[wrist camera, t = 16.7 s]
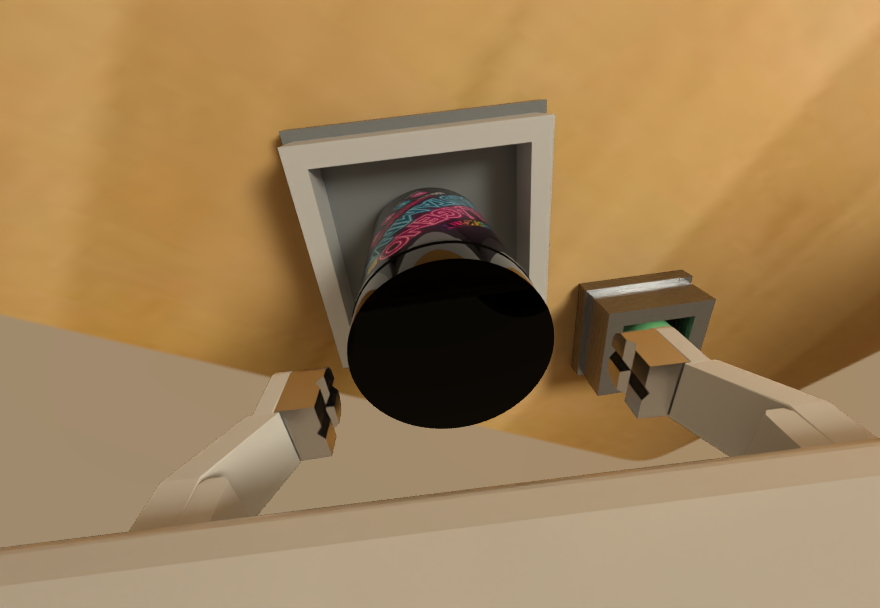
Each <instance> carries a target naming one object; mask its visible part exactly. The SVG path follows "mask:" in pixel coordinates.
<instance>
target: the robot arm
mask: <svg viewBox="0 0 880 608" xmlns="http://www.w3.org/2000/svg"><path fill="white" fill-rule="evenodd" d="M611 345H612V346H613V348H614V349H615V350H616V351H615V352H614V353H613V354H612V355H611V356H610V357H609V363H608V369H609V376H610V378H611V381H612V383H613V384H614V386H615V387H616V389H617V390H619V391H621V392H623V393H625V394H626V397H625V402H626V403H627V405H628V406H629V407H630V409H631V410H632V412H633V413H634V415H635V416H636V417H637V419H639V418H649V417H660V416H669V418H671V419H672V420H674V421H675V422H677V423H678V424H680V425H682V426H683V427H685V428H686V429H688V430H689V431H691V432H692V433H694V434H695V435H697V436H699V437H700V438H702V439H703V440H705V441H706V442H708V443H709V444H711V445H712V446H714V447H716V448H717V449H719V450H720V451H722V452H723V453H725V454H727V455H728V456H729V457H725V458H717V459H709V460H701V461H693V462H685V463H677V464H669V465H661V466H653V467H645V468H637V469H629V470H621V471H613V472H604V473H596V474H588V475H580V476H572V477H564V478H556V479H548V480H540V481H532V482H524V483H516V484H508V485H500V486H492V487H484V488H475V489H467V490H460V491H451V492H444V493H436V494H427V495H420V496H412V497H403V498H395V499H387V500H379V501H372V502H363V503H355V504H347V505H339V506H331V507H323V508H315V509H308V510H300V511H291V512H283V513H275V514H267V515H260V516H257V515H258V514H259V513H260V511H261V510H262V509H263V508H264V507H265V505H266V504H267V503H268V502H269V501H270V499H271V498H272V497H273V496H274V494H275V493H276V492H277V491H278V490H279V488H280V487H281V486H282V485H283V483H284V482H285V481H286V480H287V478H288V477H289V476H290V475H291V474H292V472H293V471H294V470H295V469H296V467H297V466H298V465H299V464H300V461H302V460H309V459H316V458H322V457H329V456H332V454H333V449H334V445H335V440H336V433H335V431H334V428H335V426H337V424H339V421H340V416H341V402H340V396H339V393H338V390H337V389H336V388H334V387H333V386H332V384H333V380H334V377H333V374H332V371H331V369H330V368H328V367H326V368H315V369H305V370H295V371H287V372H278V373H275V374H273V375H272V376H271V378H270V380H269V383H268V384H267V386H266V389H265V391H264V393H263V395H262V397H261V399H260V401H259V403H258V405H257V407H256V409H255V411H254V413H253V415H252V416H246V417H245V418H244V419H242V420H241V421H240V422H238V423H237V424H236V425H235V426H233V427H232V428H231V429H229V430H228V431H227V432H225V433H224V434H223V435H222V436H220V437H219V438H218V439H216V440H215V441H214V442H212V443H211V444H210V445H209V446H207V447H206V448H205V449H203V450H202V451H201V452H199V453H198V454H197V455H196V456H194V457H193V458H192V459H190V460H189V461H188V462H186V463H185V464H184V465H183V466H181V467H180V468H179V469H178V470H176V471H175V472H174V473H172V474H171V475H170V476H168V477H167V478H166V479H165V480H163V481H162V482H161V483H160V484H159V485H158V487H157V488H156V490H155V492H154V493H153V495H152V496H151V498H150V499H149V501H148V502H147V504H146V505H145V507H144V508H143V510H142V512H141V513H140V515H139V516H138V518H137V519H136V521H135V523H134V524H133V526H132V527H131V529H130V530H129V532H124V533H123V532H122V533H114V534H106V535H100V536H99V535H98V536H91V537H82V538H74V539H66V540H59V541H50V542H42V543H35V544H27V545H19V546H10V547H2V548H0V608H880V438H877V437H876V436H874V435H873V434H872V433H871V432H869V431H868V430H866V429H865V428H864V427H862V426H861V425H860V424H858V423H857V422H855V421H854V420H853V419H852V418H850V417H849V416H848V415H846V414H845V413H843V412H842V411H841V410H839V409H838V408H837V407H835V406H834V405H833V404H831V403H830V402H829V401H826V400H823V399H821V398H818V397H815V396H812V395H810V394H807V393H805V392H802V391H799V390H797V389H794V388H791V387H789V386H786V385H783V384H781V383H778V382H775V381H773V380H770V379H767V378H765V377H762V376H759V375H757V374H754V373H751V372H749V371H746V370H743V369H741V368H738V367H735V366H733V365H730V364H727V363H725V362H722V361H719V360H716V359H715V360H710V359H709V358H708V357H706V356H705V355H704V354H703V353H702V352H701V351H700V350H699V349H697V348H696V347H695V346H694V345H693V344H692V343H691V342H689V341H688V340H687V339H686V338H685V337H684V336H683V335H682V334H680V333H679V332H678V331H677V330H676V329H675V328H673V327H671V326H663V327H656V328H651V329H645V330H637V331H629V332H621V333H615V335H614V337H613V339H612V344H611Z"/></svg>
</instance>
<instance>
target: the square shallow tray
mask: <svg viewBox="0 0 880 608" xmlns="http://www.w3.org/2000/svg"><path fill="white" fill-rule="evenodd" d="M546 111H547V100H532V101H524V102H515V103H507V104H499V105H490V106H482V107H474V108H465V109H457V110H448V111H440V112H432V113H423V114H415V115H407V116H398V117H390V118H381V119H373V120H365V121H356V122H348V123H340V124H331V125H323V126H314V127H306V128H298V129H289V130H283V131H279V134H280V138H281V141H282V145H283V146H280V147H278V151H279V155H280V158H281V161H282V165H283V168H284V171H285V175H286V178H287V182H288V185H289V188H290V192H291V195H292V198H293V202H294V205H295V209H296V212H297V215H298V219H299V222H300V225H301V229H302V232H303V235H304V239H305V242H306V246H307V249H308V252H309V256H310V259H311V262H312V266H313V269H314V272H315V276H316V279H317V283H318V286H319V289H320V293H321V296H322V299H323V303H324V306H325V310H326V313H327V316H328V320H329V323H330V326H331V330H332V333H333V336H334V340H335V343H336V347H337V350H338V353H339V357H340V360H341V363H342V367H343V368H348V367H349V365H348V359H347V342H348V336H349V331H350V327H351V320H352V314H353V308H354V305H355V301H356V299H357V296H358V294H359V289H360V285H361V280H362V275H363V271H364V266H365V261H366V256H367V252H368V247H369V242H370V238H371V233H372V230H373V227H374V224H375V222H376V220H377V218H378V216H379V215H380V213H381V212H382V211H383V209H384V208H385V207H386V206H387V205H388V204H389V203H390V202H391V201H393V200H394V199H395V198H397V197H399V196H400V195H402V194H404V193H406V192H409V191H412V190H415V189H419V188H426V187H436V188H443V189H448V190H451V191H454V192H456V193H458V194H460V195H462V196H464V197H465V198H467V199H468V200H469V201H471V202H472V203H473V204H474V205H475V206H476V207H477V209H478V210H479V211H480V213H481V214H482V215H483V217H484V218H485V220H486V221H487V222H488V224H489V225H490V227H491V228H492V229H493V231H494V232H495V234H496V235H497V236H498V238H499V239H500V241H501V242H502V244H503V245H504V246H505V248H506V249H507V251H508V252H509V253H510V255H511V256H512V258H513V259H514V260H515V262H516V263H517V264H519V266H520V267H521V268H522V269H523V270H524V271H525V273H526V274H527V276H528V277H529V279H530V280H531V282H532V284H533V285H534V287H535V288H536V290H537V291H538V292H539V294H540V295H541V297H542V298H543V300H544V301H545V303H546V300H547V278H548V257H549V235H550V213H551V192H552V170H553V148H554V127H555V114H549V113H546Z"/></svg>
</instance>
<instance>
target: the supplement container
mask: <svg viewBox="0 0 880 608" xmlns="http://www.w3.org/2000/svg"><path fill="white" fill-rule="evenodd" d="M553 345H554V327H553V322H552V318H551V315H550V312H549V309H548V307H547V305H546V303H545V301H544V300H543V298H542V297H541V295H540V294H539V292H538V291H537V290H536V288H535V287H534V285H533V284H532V282H531V280H530V279H529V277H528V276H527V274H526V273H525V271H524V270H523V269H522V268H521V267H520V266H519V264H517V263H516V262H515V260H514V259H513V258H512V256H511V255H510V253H509V252H508V251H507V249H506V248H505V246H504V245H503V244H502V242H501V241H500V239H499V238H498V236H497V235H496V234H495V232H494V231H493V229H492V228H491V227H490V225H489V224H488V222H487V221H486V220H485V218H484V217H483V215H482V214H481V213H480V211H479V210H478V209H477V207H476V206H475V205H474V204H473V203H472V202H471V201H469V200H468V199H467V198H465V197H464V196H462V195H460V194H458V193H456V192H454V191H451V190H448V189H443V188H436V187H426V188H419V189H415V190H412V191H409V192H406V193H404V194H402V195H400V196H399V197H397V198H395V199H394V200H393V201H391V202H390V203H389V204H388V205H387V206H386V207H385V208H384V209H383V211H382V212H381V213H380V215H379V216H378V218H377V220H376V222H375V224H374V227H373V230H372V233H371V238H370V242H369V247H368V252H367V256H366V261H365V266H364V271H363V275H362V280H361V285H360V289H359V294H358V296H357V299H356V301H355V305H354V308H353V314H352V320H351V327H350V331H349V336H348V342H347V359H348V365H349V369H350V372H351V375H352V378H353V380H354V382H355V384H356V386H357V387H358V389H359V390H360V392H361V393H362V394H363V395H364V397H365V398H366V399H367V400H368V401H369V402H370V403H371V404H372V405H373V406H375V407H376V408H377V409H379V410H380V411H382V412H383V413H385V414H386V415H388V416H390V417H392V418H394V419H396V420H399V421H401V422H404V423H407V424H411V425H414V426H419V427H425V428H436V429H437V428H438V429H447V428H459V427H465V426H470V425H474V424H478V423H481V422H484V421H487V420H489V419H492V418H494V417H496V416H498V415H500V414H502V413H504V412H506V411H507V410H509V409H511V408H512V407H514V406H515V405H516V404H518V403H519V402H520V401H521V400H523V399H524V398H525V397H526V396H527V395H528V394H529V393H530V392H531V391H532V390H533V389H534V387H535V386H536V385H537V384H538V382H539V381H540V379H541V378H542V376H543V374H544V373H545V371H546V369H547V367H548V364H549V362H550V359H551V355H552V351H553Z"/></svg>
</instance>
